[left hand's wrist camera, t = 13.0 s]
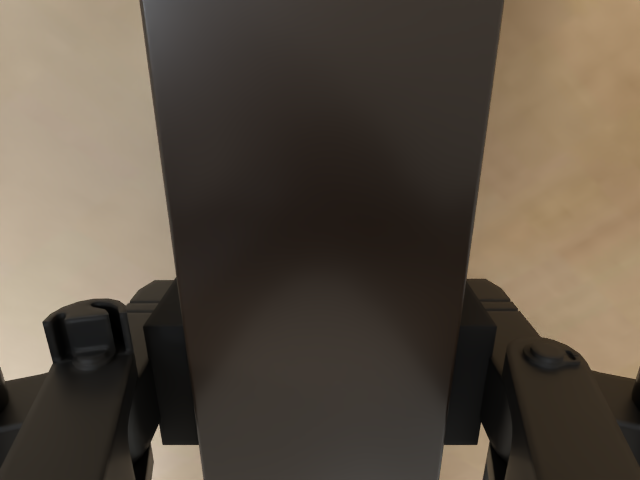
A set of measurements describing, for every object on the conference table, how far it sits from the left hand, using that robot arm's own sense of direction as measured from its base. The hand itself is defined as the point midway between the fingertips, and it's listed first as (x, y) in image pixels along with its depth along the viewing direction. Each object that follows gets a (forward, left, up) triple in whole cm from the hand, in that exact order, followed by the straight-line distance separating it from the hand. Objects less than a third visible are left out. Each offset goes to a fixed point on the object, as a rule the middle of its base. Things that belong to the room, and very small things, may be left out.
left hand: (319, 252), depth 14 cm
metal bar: (0, +11, 0) cm, 11 cm away
